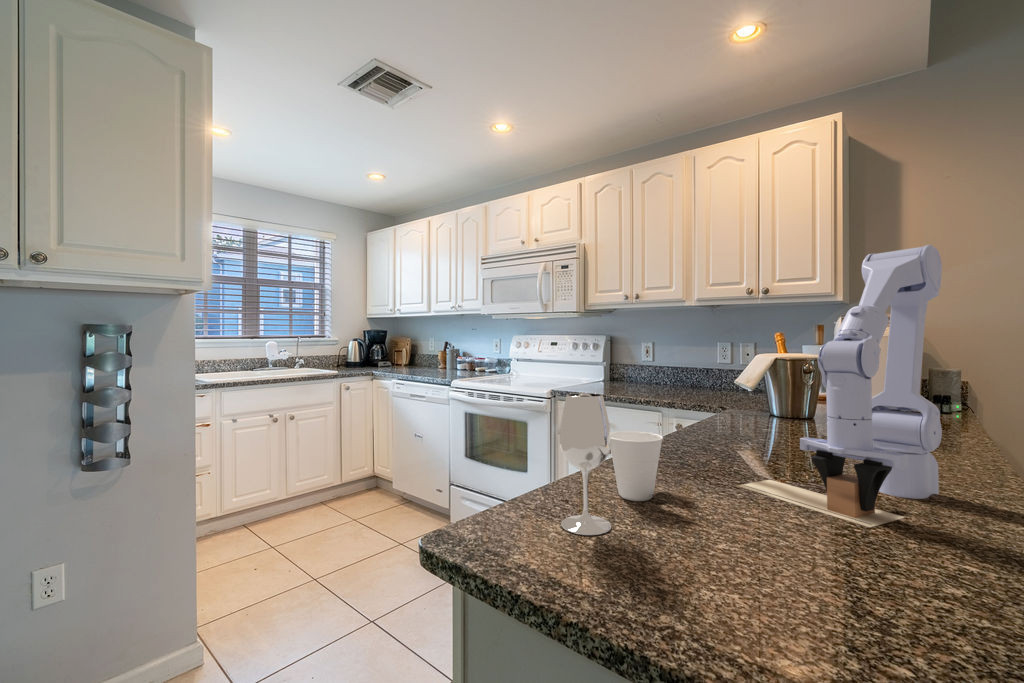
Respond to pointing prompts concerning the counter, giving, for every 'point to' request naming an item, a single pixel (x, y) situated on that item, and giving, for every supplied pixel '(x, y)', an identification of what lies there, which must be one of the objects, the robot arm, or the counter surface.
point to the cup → (635, 463)
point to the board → (815, 502)
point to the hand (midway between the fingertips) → (850, 505)
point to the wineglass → (585, 451)
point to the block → (845, 496)
